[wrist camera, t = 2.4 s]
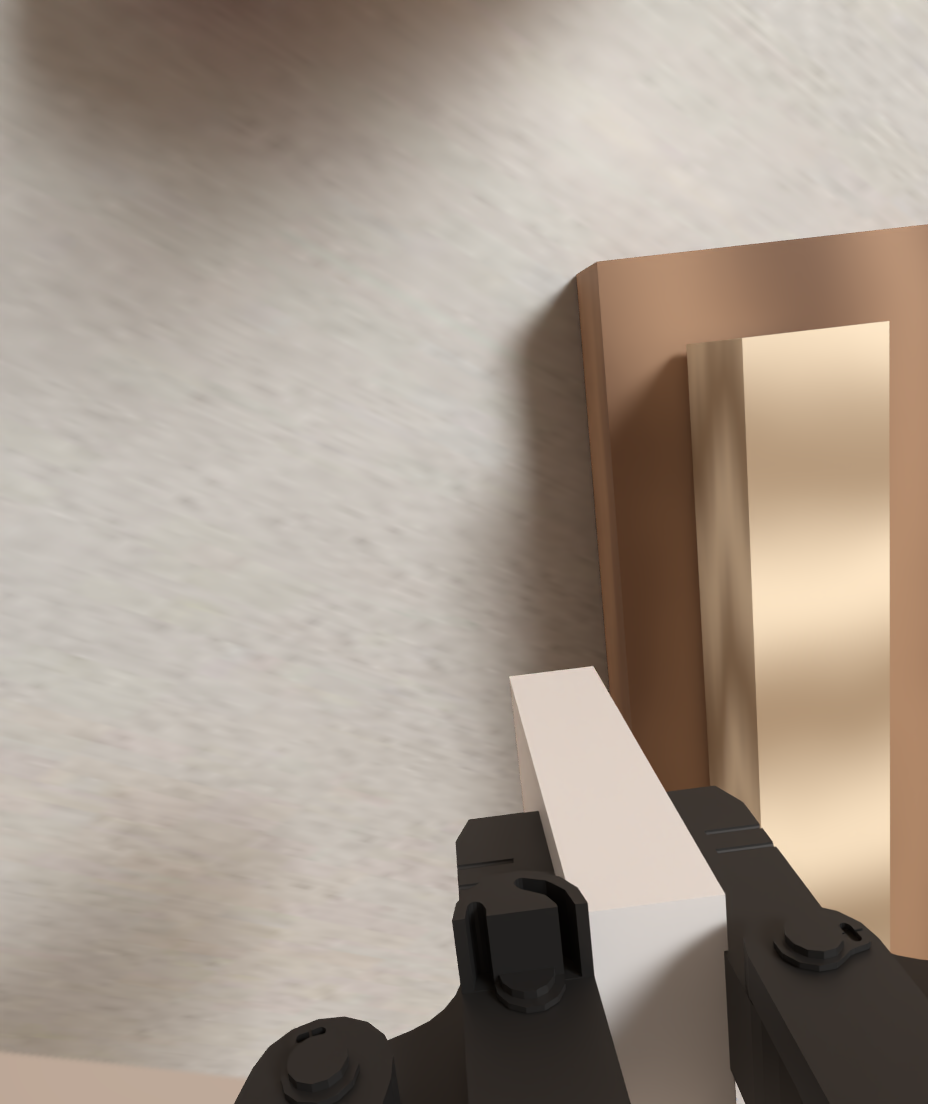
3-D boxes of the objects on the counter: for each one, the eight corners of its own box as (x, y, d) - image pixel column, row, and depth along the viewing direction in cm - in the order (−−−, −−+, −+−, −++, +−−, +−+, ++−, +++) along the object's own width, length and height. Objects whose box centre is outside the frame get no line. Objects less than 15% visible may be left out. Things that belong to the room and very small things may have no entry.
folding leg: (821, 920, 27) (904, 1031, 23) (717, 935, 27) (779, 1049, 22) (809, 330, 23) (906, 318, 18) (686, 344, 23) (754, 336, 18)
